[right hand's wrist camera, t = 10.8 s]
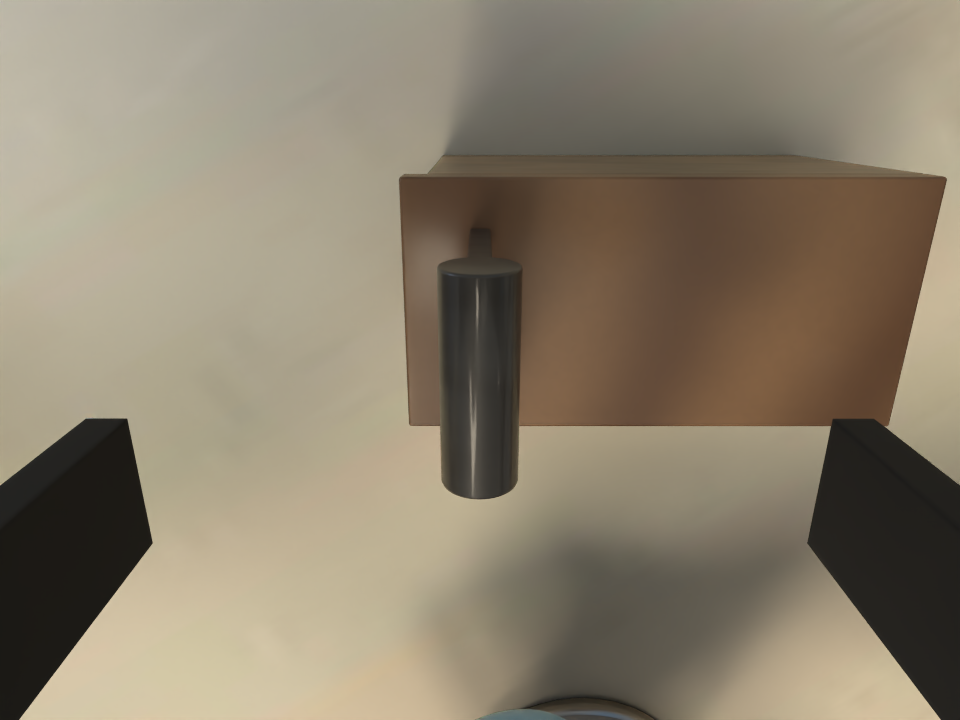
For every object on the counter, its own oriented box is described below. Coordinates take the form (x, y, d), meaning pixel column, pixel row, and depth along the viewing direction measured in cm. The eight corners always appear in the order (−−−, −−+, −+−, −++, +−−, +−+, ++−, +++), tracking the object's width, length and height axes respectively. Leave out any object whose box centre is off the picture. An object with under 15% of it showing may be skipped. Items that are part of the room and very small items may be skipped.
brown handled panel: (411, 414, 26) (380, 548, 18) (402, 173, 23) (359, 207, 15) (872, 414, 26) (1047, 549, 18) (927, 174, 23) (1169, 208, 15)
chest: (445, 332, 36) (433, 413, 26) (442, 155, 33) (426, 173, 23) (767, 332, 36) (871, 413, 26) (795, 155, 33) (926, 173, 23)
